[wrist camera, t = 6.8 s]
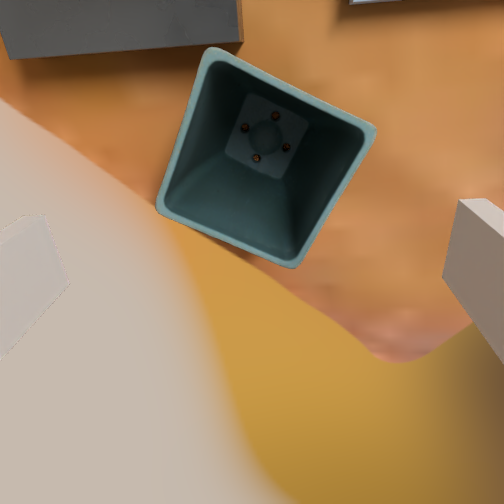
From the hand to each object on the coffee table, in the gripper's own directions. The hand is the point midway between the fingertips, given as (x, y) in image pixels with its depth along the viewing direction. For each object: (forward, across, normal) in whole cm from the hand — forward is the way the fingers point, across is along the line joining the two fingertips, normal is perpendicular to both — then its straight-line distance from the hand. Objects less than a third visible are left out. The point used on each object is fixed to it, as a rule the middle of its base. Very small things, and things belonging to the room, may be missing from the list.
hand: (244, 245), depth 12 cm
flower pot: (+17, 0, 0) cm, 17 cm away
